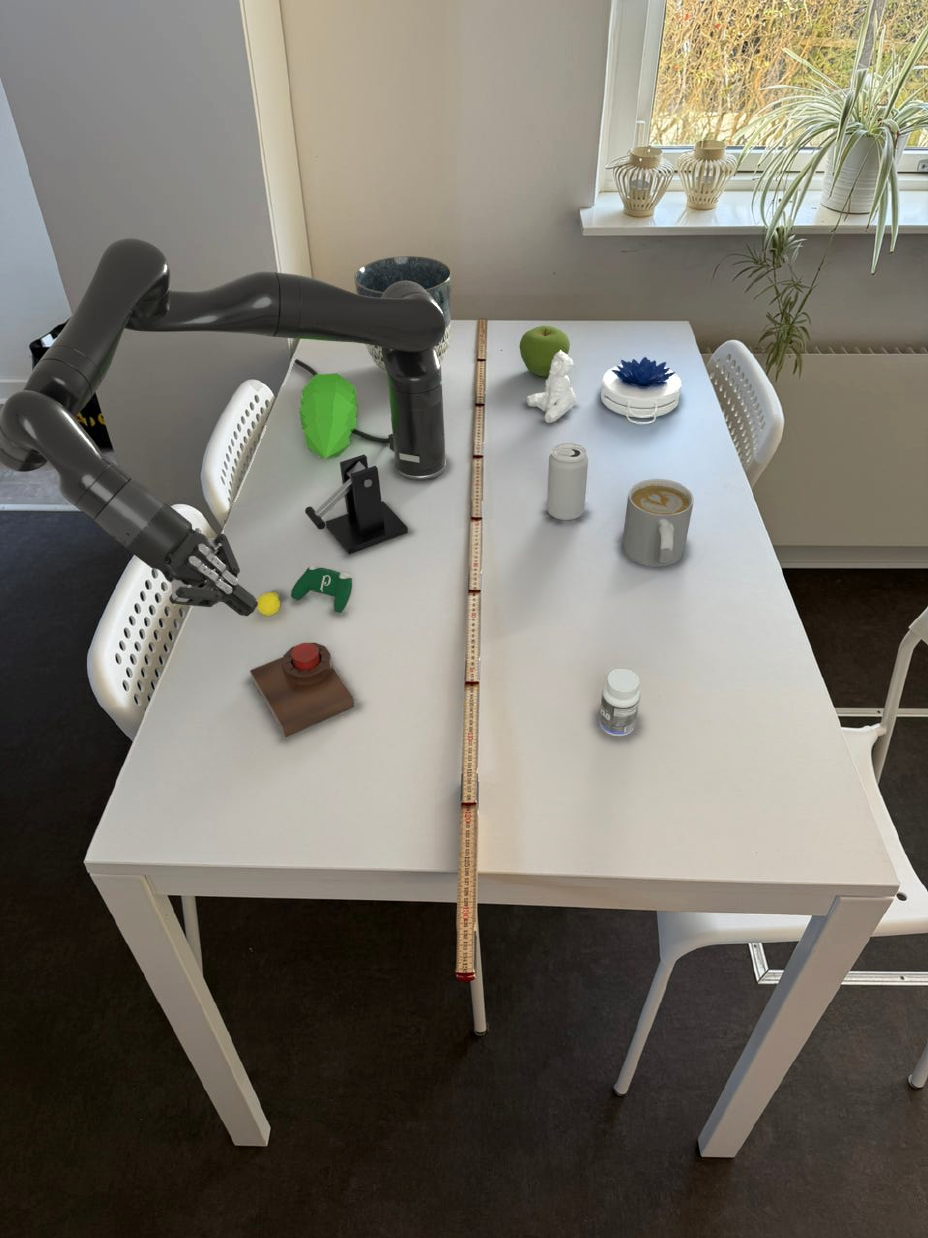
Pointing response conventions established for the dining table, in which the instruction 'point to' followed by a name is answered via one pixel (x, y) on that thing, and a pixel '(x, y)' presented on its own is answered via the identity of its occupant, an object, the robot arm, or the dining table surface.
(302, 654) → the button
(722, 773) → the dining table surface
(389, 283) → the planter
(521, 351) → the apple
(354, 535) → the bracket
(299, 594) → the gaming controller
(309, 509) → the lever
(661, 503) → the coffee mug
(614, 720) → the pill bottle
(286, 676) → the button block
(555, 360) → the sitting furry creature
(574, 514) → the beverage can
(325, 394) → the green oblong ovoid
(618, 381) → the lotus flower trinket box
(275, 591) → the light bulb
